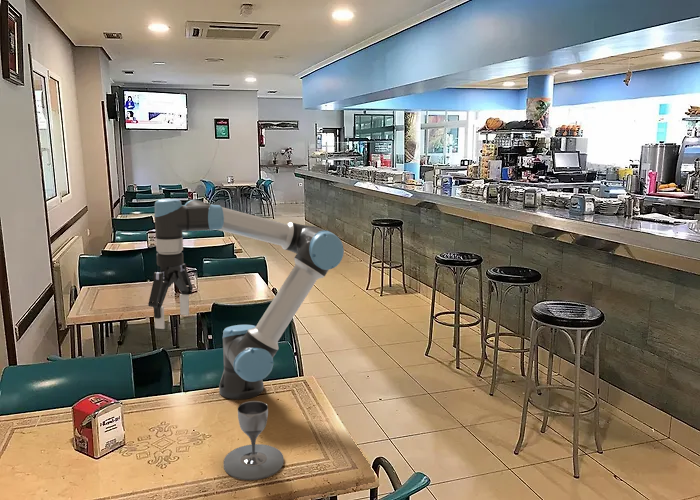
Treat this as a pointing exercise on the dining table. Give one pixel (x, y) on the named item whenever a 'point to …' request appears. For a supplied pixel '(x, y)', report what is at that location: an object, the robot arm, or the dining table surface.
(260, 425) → the wine glass
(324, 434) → the dining table surface
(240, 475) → the plate
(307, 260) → the robot arm
